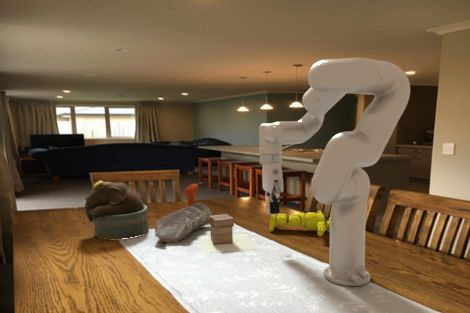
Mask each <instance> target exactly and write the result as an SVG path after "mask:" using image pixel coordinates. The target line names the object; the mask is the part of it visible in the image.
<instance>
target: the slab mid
mask: <svg viewBox="0 0 470 313" xmlns="http://www.w3.org/2000/svg"><path fill="white" fill-rule="evenodd" d="M211 233H212V235H213V237H216V236H232V235H234V234H233V227H226V228H218V229H215V228H214V227H212V226H211V225H210V234H211Z"/></svg>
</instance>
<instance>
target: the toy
mask: <svg viewBox="0 0 470 313" xmlns="http://www.w3.org/2000/svg"><path fill="white" fill-rule="evenodd" d="M288 216H289V217H288ZM269 221H270V222H269V233H270V232H271V233H272V232H273V231H275V227H276V224H277V225H281V226H285V225H286V226H289V225H290V226H291V227H293V226H294V227H298V226H301V227H304V229H306V230H309V231H317V235H318V237H322V236H323V235H324V233H325V232H327V233H329V234H330V217H329V218H328V220H327V221H326V217H325V214H324V213H323V212H322V211H321V210H317V211H316V212H310V211H309V212H306V213H305V212H300V213H292V214H289V215H288V214H286V213H281V212H279V214H276V215H270V220H269Z"/></svg>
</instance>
